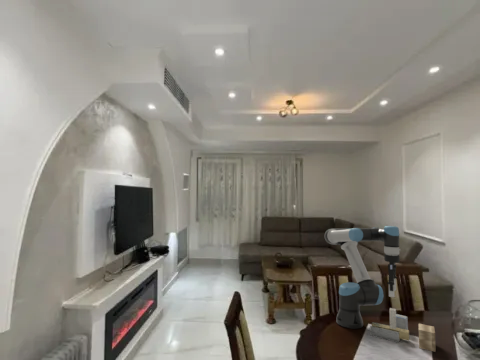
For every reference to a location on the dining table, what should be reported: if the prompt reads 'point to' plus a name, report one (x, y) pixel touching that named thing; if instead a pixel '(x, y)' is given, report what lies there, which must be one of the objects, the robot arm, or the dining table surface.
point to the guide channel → (384, 333)
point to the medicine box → (401, 321)
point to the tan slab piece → (394, 326)
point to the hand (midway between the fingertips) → (392, 293)
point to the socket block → (427, 337)
